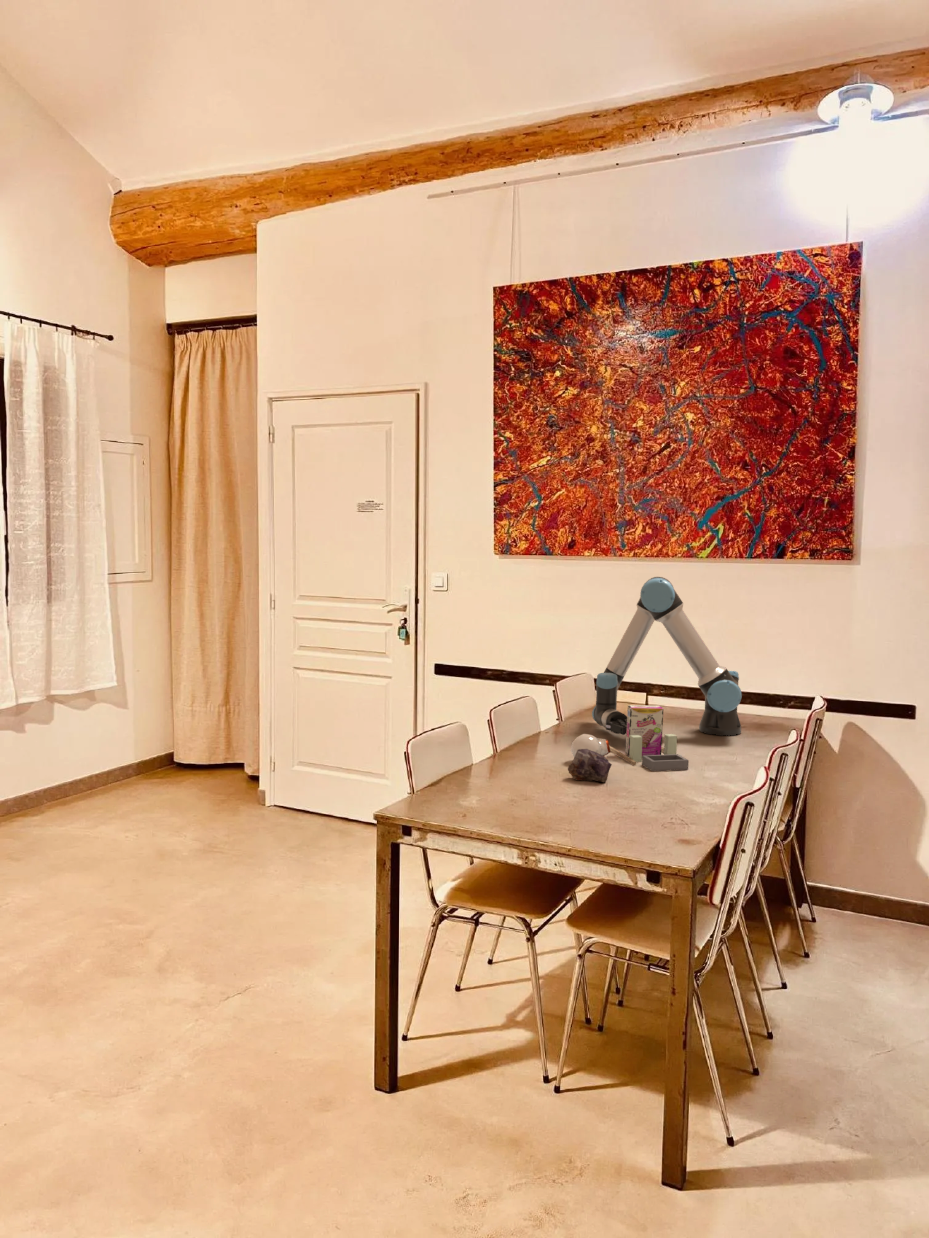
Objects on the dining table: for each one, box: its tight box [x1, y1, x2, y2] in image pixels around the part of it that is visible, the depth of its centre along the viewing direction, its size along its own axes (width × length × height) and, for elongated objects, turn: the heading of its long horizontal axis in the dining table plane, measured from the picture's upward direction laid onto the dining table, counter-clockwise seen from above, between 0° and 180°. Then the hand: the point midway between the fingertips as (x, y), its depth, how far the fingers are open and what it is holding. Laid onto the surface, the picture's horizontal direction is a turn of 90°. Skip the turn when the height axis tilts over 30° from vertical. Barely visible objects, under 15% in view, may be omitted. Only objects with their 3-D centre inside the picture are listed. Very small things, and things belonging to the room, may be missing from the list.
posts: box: [628, 733, 678, 763], centre depth 313 cm, size 15×3×8 cm, turn 102°
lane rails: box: [609, 744, 664, 766], centre depth 320 cm, size 18×26×1 cm
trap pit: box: [641, 753, 690, 772], centre depth 304 cm, size 12×8×3 cm, turn 102°
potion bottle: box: [570, 733, 611, 758], centre depth 309 cm, size 9×10×15 cm
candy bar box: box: [625, 704, 664, 757], centre depth 318 cm, size 11×5×16 cm, turn 93°
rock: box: [567, 749, 613, 783], centre depth 287 cm, size 12×9×10 cm
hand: (641, 735), depth 321 cm, fingers closed
